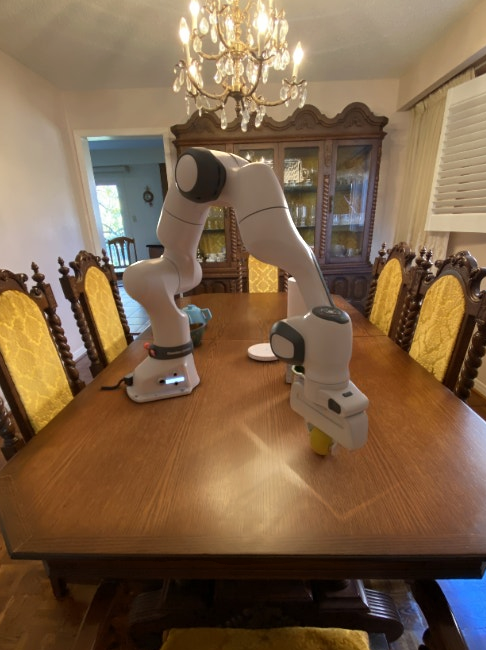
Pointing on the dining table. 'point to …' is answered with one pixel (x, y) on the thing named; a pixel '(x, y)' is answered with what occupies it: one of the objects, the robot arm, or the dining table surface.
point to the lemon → (320, 441)
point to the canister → (295, 300)
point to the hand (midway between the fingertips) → (322, 444)
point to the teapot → (197, 314)
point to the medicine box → (288, 373)
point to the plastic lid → (261, 352)
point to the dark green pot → (196, 333)
